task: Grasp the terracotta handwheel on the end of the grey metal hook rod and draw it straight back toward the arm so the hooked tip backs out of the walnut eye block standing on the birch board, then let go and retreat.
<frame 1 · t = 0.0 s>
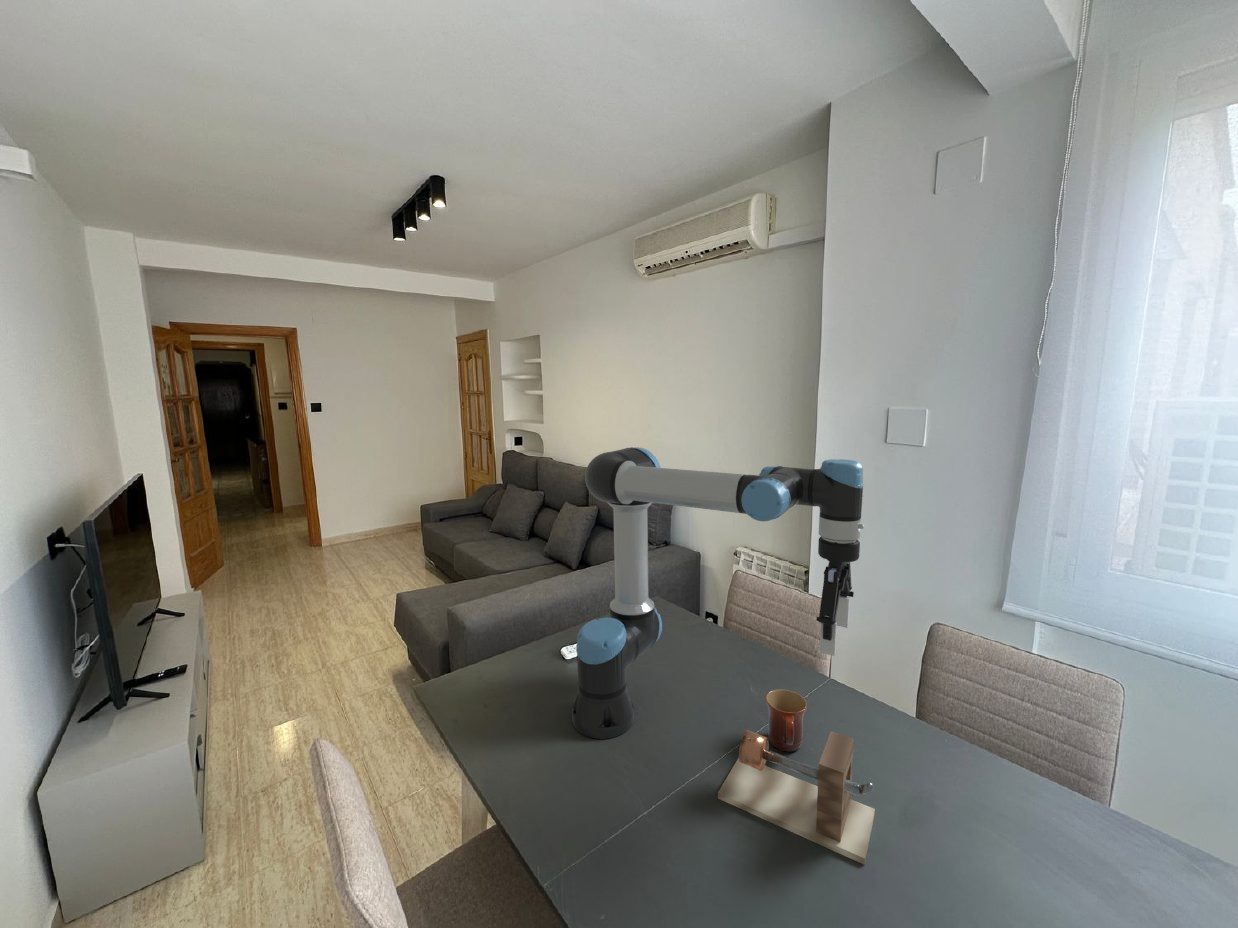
hand: (834, 638, 103), 28 cm above the table, fingers open, 13 cm apart
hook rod: (801, 767, 95), point 8 cm above the table, slide at 0.0 cm
board: (794, 806, 96), on the table
mug: (785, 748, 112), on the table
eye block: (835, 784, 91), on the board, point 8 cm above the table
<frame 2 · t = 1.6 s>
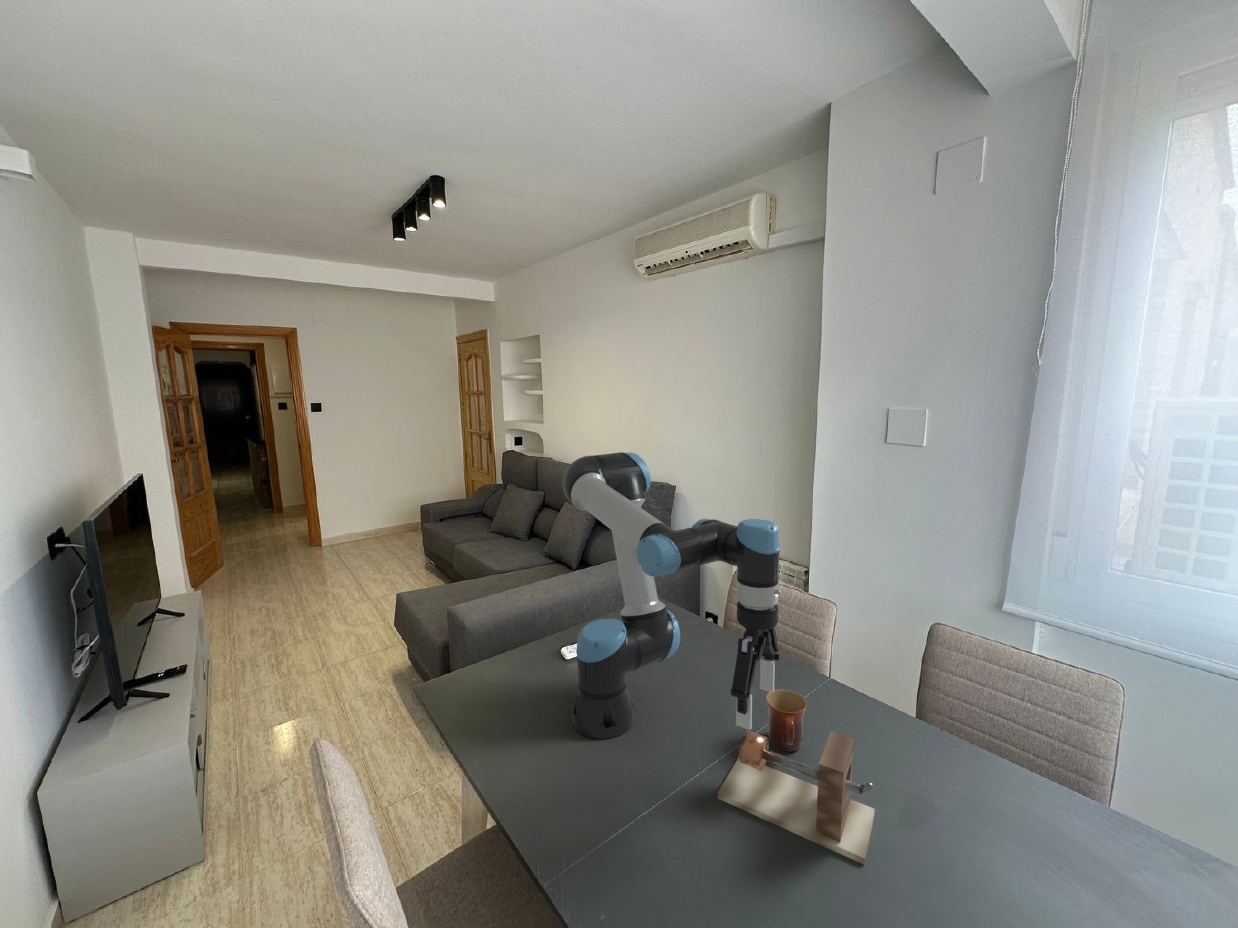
hand: (756, 707, 98), 18 cm above the table, fingers open, 13 cm apart
nothing on the table moved.
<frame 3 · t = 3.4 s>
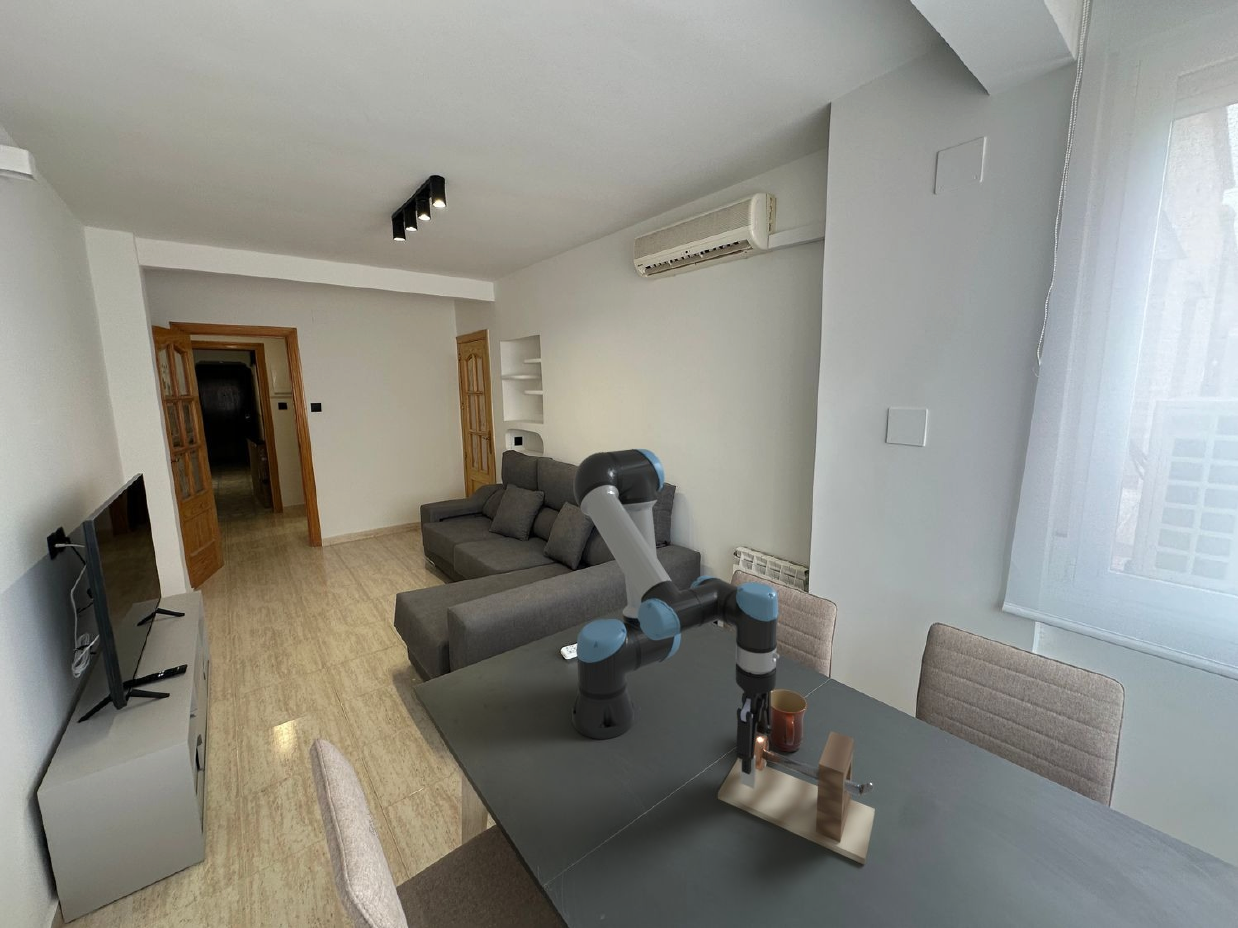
hand: (753, 773, 100), 3 cm above the table, fingers closed on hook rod, 6 cm apart
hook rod: (801, 767, 95), point 8 cm above the table, slide at 0.0 cm, touching gripper
everything else where it was.
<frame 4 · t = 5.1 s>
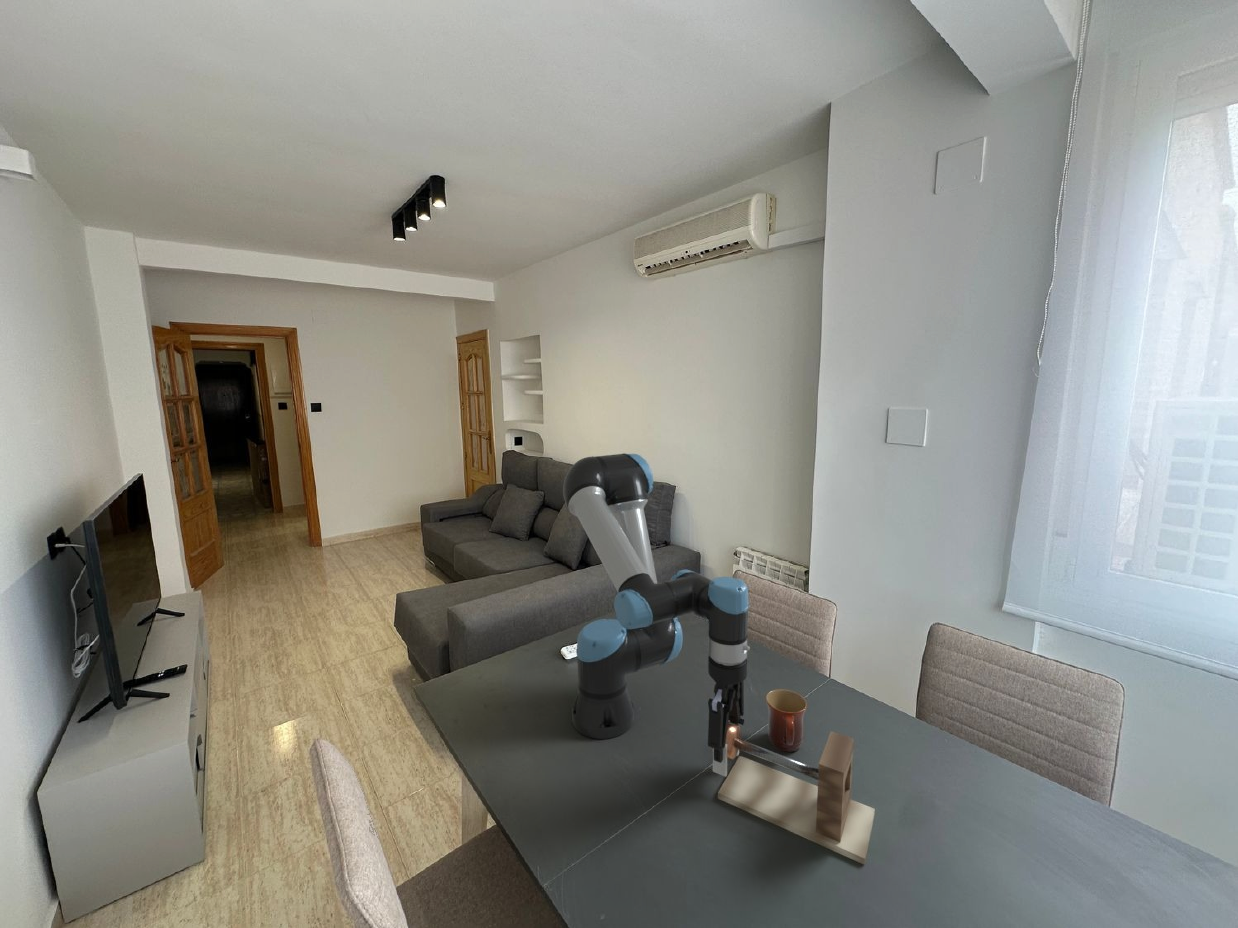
hand: (726, 762, 103), 3 cm above the table, fingers closed on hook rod, 6 cm apart
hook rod: (770, 756, 98), point 8 cm above the table, slide at 5.7 cm, touching gripper
everything else where it was.
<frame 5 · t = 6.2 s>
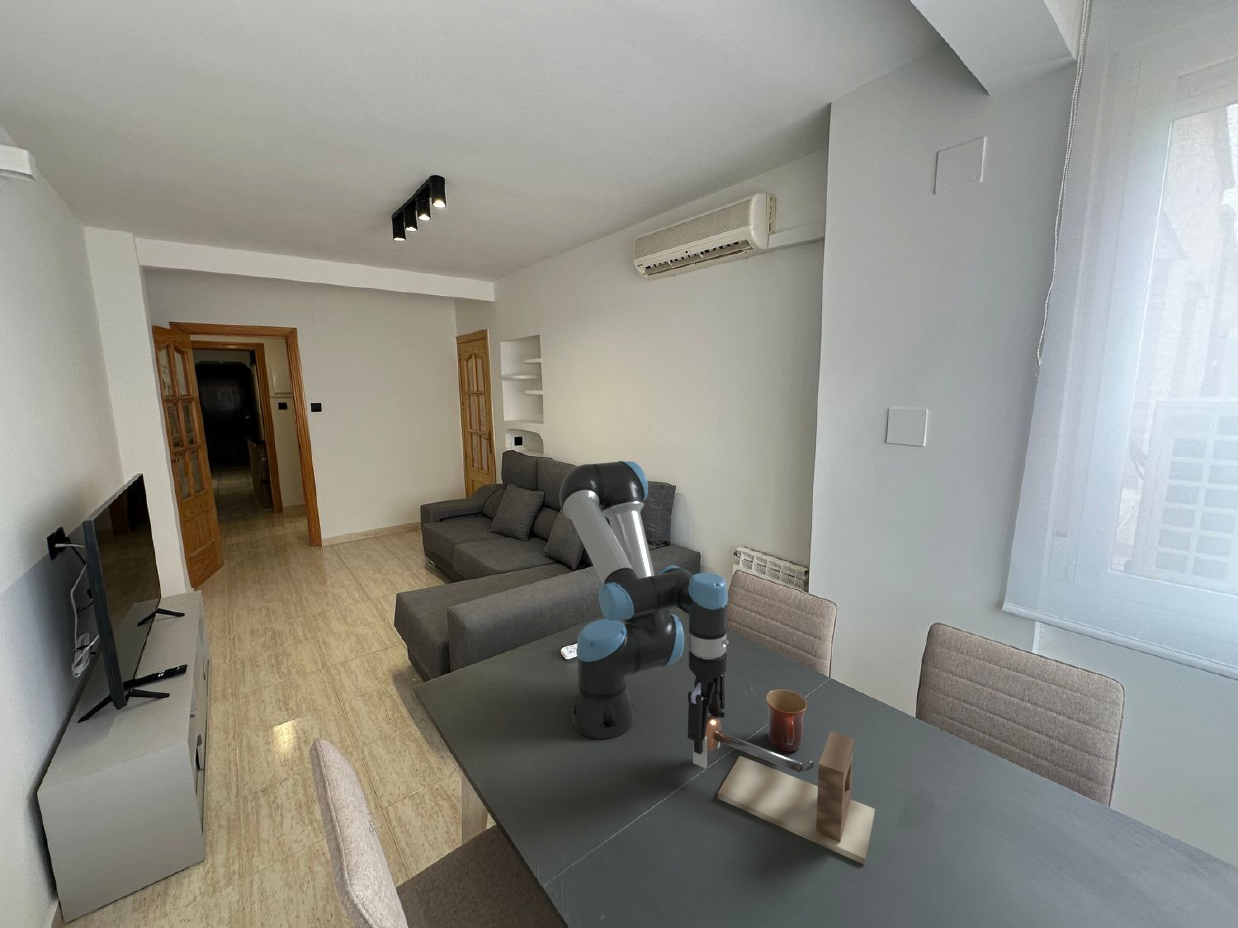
hand: (706, 754, 106), 3 cm above the table, fingers closed on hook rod, 6 cm apart
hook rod: (749, 748, 100), point 8 cm above the table, slide at 10.0 cm, touching gripper
everything else where it was.
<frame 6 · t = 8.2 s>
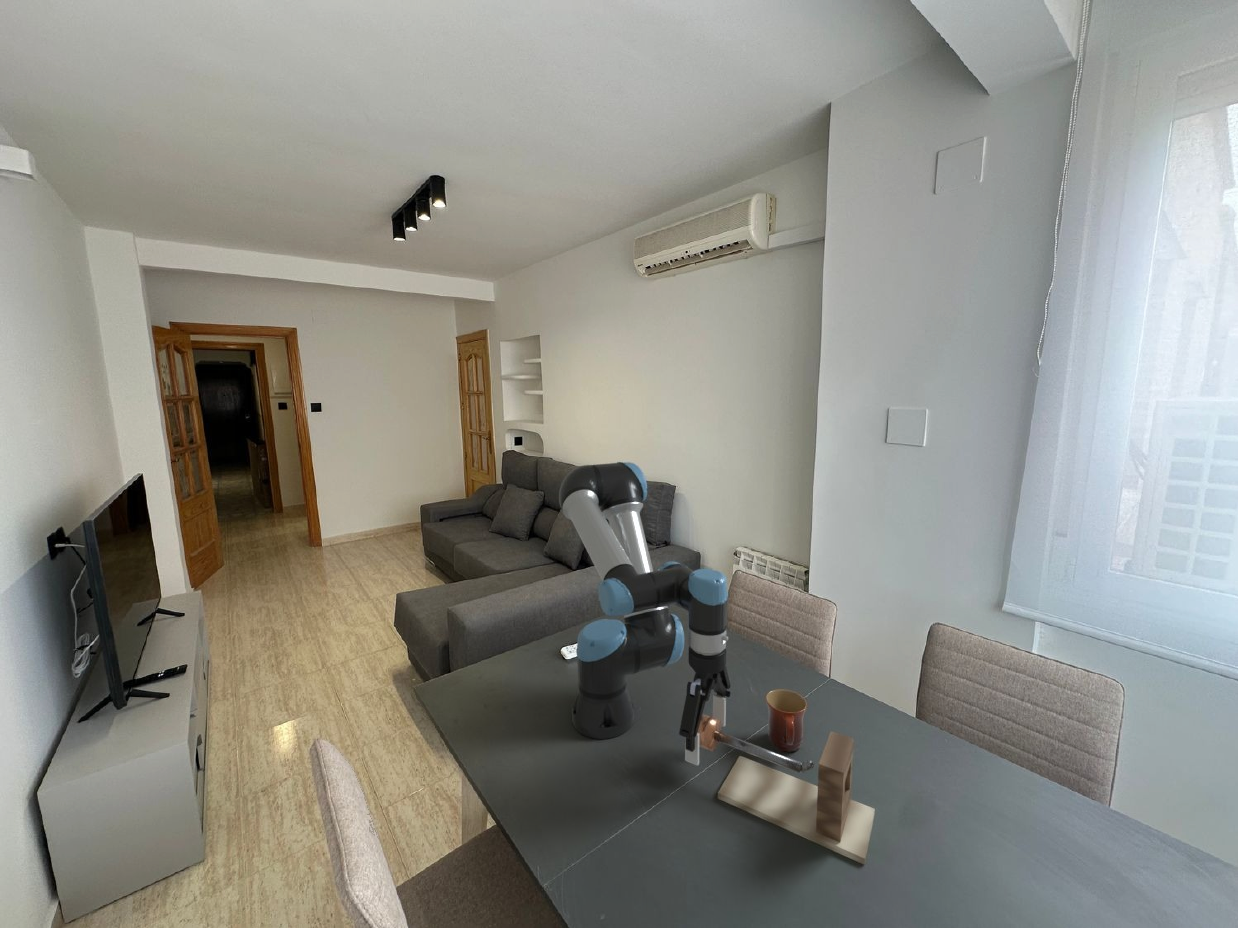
hand: (706, 742, 106), 6 cm above the table, fingers open, 13 cm apart
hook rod: (749, 747, 100), point 8 cm above the table, slide at 10.0 cm
everything else where it was.
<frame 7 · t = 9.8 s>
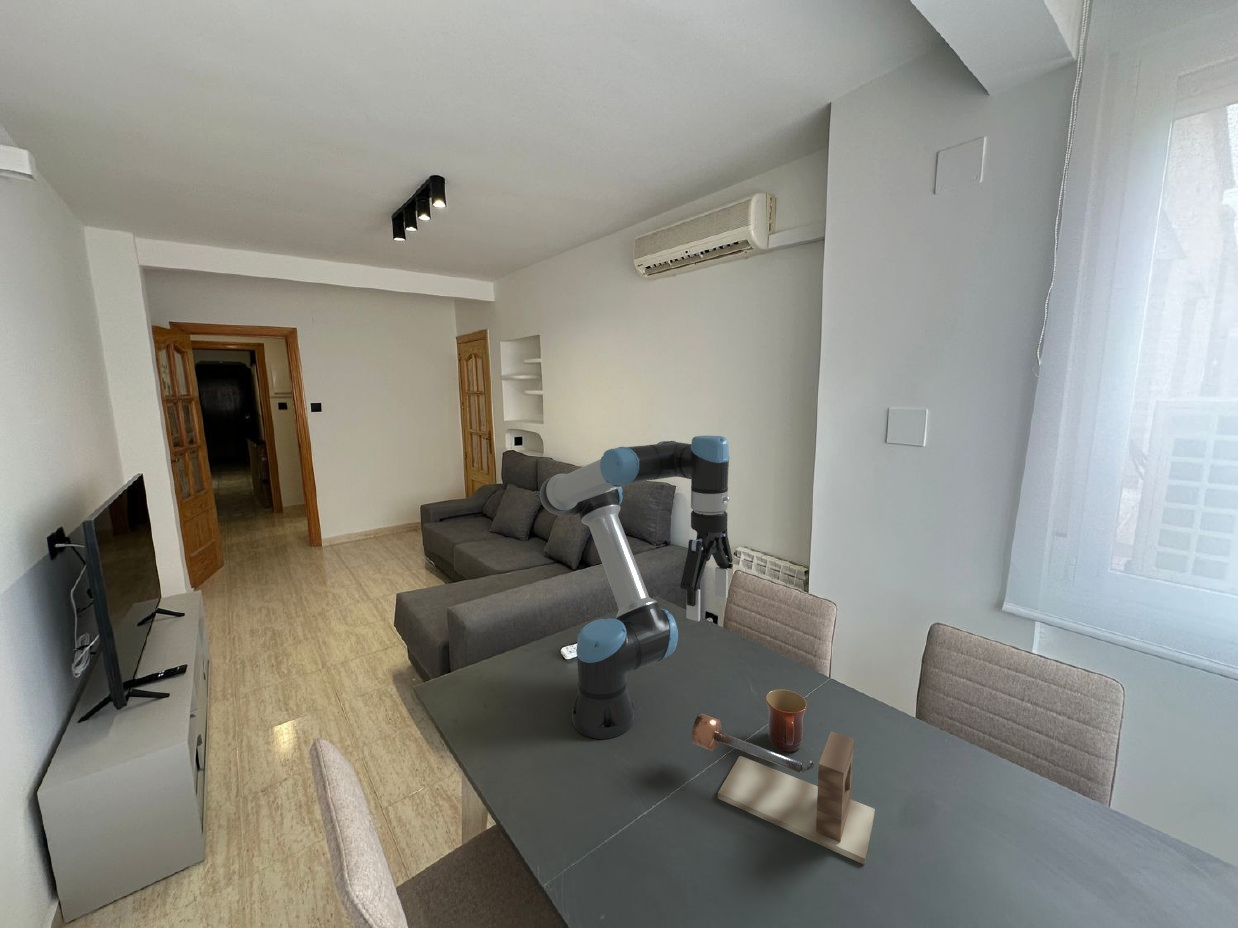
hand: (707, 607, 108), 33 cm above the table, fingers open, 13 cm apart
nothing on the table moved.
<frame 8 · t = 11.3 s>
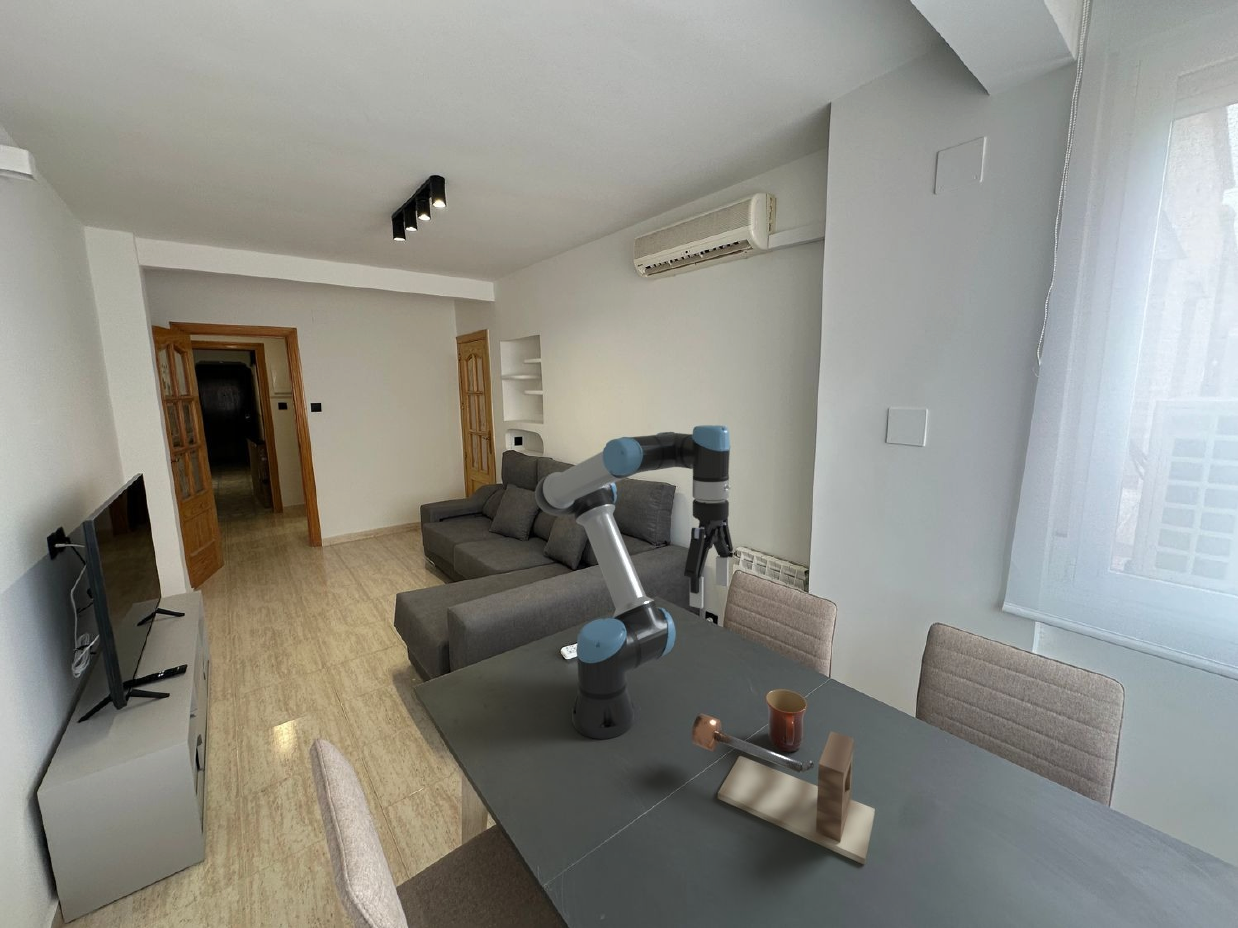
hand: (709, 595, 110), 35 cm above the table, fingers open, 13 cm apart
nothing on the table moved.
at the end: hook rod slide at 10.0 cm; the gripper is holding nothing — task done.
